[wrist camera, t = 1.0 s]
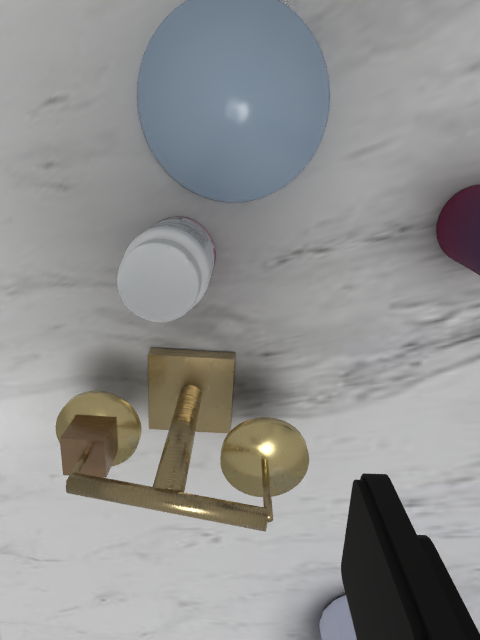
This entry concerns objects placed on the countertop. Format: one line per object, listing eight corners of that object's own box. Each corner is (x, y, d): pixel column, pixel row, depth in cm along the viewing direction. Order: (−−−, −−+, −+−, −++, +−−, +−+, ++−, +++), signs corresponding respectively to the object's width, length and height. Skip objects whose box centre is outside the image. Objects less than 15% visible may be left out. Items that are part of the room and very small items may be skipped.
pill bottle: (198, 298, 29) (182, 346, 22) (134, 268, 29) (92, 306, 21) (229, 236, 28) (222, 262, 20) (161, 202, 27) (128, 216, 19)
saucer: (139, -13, 24) (135, -20, 23) (338, 1, 24) (342, -6, 23) (142, 195, 27) (138, 196, 26) (314, 206, 27) (317, 207, 26)
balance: (88, 343, 31) (-13, 458, 19) (297, 356, 31) (332, 478, 19) (93, 416, 33) (4, 562, 21) (289, 427, 33) (315, 579, 21)
